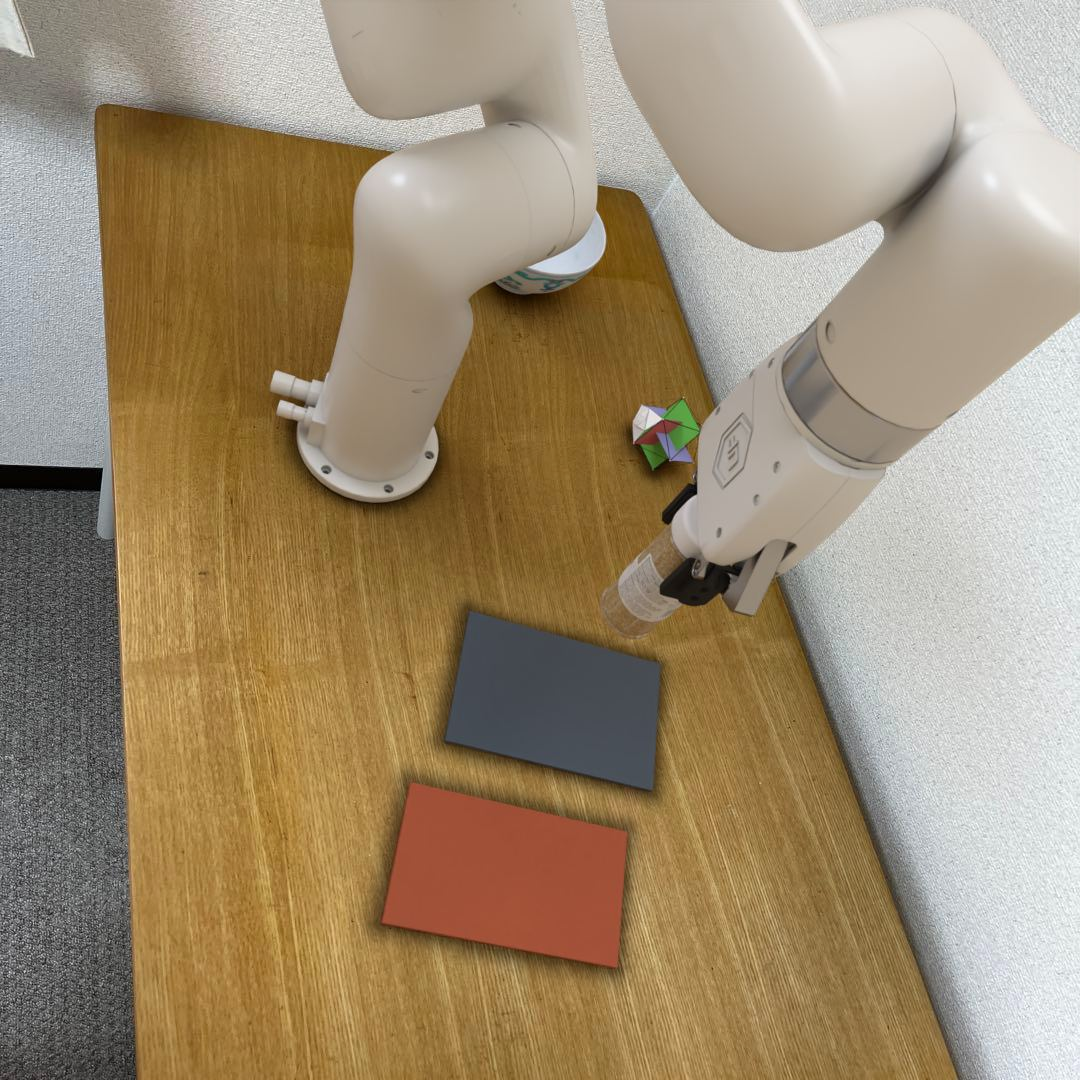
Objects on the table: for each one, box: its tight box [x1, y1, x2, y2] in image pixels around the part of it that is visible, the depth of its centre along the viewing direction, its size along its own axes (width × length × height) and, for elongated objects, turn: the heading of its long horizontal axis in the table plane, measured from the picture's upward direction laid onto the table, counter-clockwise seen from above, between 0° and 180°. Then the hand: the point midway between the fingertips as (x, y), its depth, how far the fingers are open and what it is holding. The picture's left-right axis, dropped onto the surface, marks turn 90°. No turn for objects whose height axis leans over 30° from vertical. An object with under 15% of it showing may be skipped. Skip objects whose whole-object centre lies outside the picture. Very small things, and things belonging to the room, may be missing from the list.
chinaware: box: [494, 210, 607, 295], centre depth 95 cm, size 15×15×8 cm
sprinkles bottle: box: [599, 495, 732, 640], centre depth 59 cm, size 5×5×13 cm
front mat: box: [380, 782, 628, 969], centre depth 67 cm, size 18×10×1 cm, turn 82°
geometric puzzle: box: [631, 396, 703, 471], centre depth 90 cm, size 7×7×8 cm
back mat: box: [443, 610, 662, 793], centre depth 75 cm, size 18×12×1 cm, turn 82°
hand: (682, 558), depth 57 cm, fingers closed on sprinkles bottle, 4 cm apart
